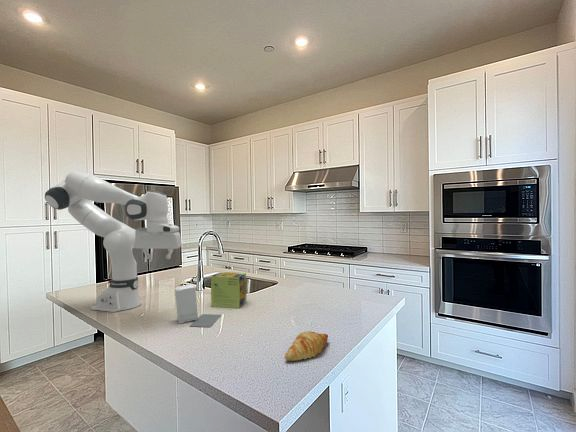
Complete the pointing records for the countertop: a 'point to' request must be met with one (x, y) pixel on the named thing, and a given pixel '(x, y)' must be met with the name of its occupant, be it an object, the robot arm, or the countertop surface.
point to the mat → (205, 320)
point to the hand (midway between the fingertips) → (158, 258)
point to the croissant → (306, 346)
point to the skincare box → (186, 303)
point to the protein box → (228, 289)
